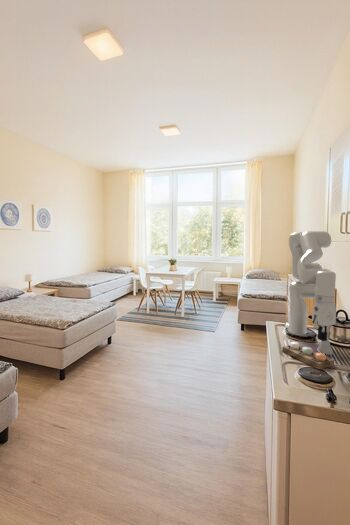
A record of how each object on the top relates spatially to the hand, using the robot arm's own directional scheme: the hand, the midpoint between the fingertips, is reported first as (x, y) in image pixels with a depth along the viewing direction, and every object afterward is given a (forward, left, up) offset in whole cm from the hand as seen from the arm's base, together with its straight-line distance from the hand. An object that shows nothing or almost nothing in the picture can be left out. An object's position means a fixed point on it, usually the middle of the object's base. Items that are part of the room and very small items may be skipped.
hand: (322, 339), depth 117 cm
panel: (-7, 0, -12) cm, 14 cm away
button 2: (-7, 0, -10) cm, 13 cm away
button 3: (0, 0, -10) cm, 10 cm away
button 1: (-14, 0, -10) cm, 18 cm away
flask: (-8, +14, -12) cm, 20 cm away
